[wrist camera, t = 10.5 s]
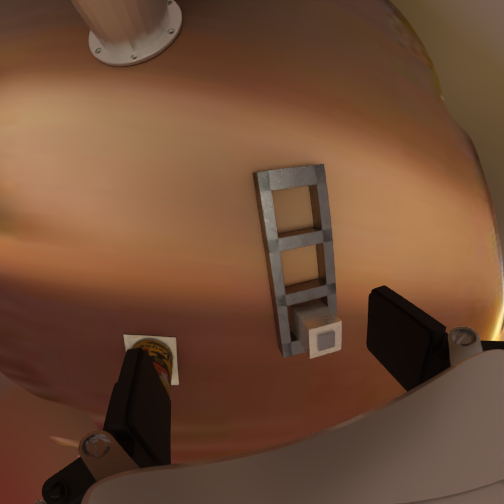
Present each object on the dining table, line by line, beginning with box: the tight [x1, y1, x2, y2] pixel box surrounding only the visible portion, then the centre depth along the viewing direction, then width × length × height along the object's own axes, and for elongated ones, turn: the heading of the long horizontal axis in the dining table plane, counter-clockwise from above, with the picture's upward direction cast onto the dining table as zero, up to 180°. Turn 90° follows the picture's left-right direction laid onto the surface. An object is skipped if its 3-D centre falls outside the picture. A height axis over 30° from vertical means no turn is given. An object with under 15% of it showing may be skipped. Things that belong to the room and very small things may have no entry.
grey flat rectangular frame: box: [253, 164, 337, 358], centre depth 34 cm, size 24×8×2 cm, turn 9°
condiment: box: [124, 334, 179, 397], centre depth 30 cm, size 7×8×12 cm
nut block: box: [288, 298, 342, 358], centre depth 33 cm, size 4×4×8 cm
